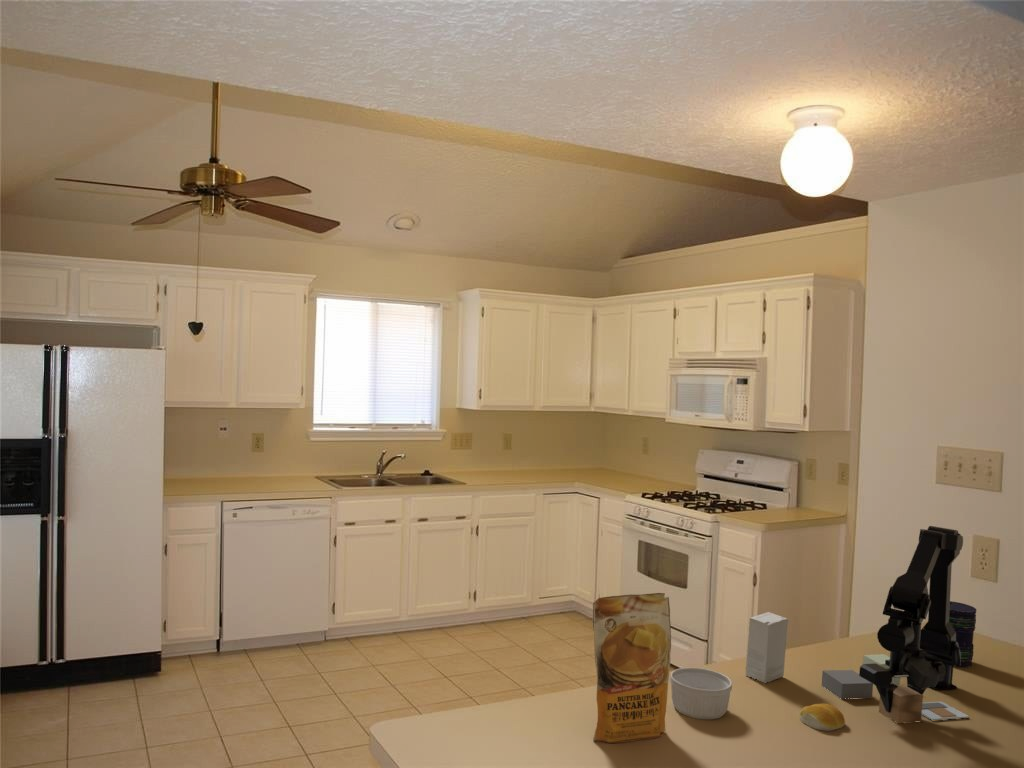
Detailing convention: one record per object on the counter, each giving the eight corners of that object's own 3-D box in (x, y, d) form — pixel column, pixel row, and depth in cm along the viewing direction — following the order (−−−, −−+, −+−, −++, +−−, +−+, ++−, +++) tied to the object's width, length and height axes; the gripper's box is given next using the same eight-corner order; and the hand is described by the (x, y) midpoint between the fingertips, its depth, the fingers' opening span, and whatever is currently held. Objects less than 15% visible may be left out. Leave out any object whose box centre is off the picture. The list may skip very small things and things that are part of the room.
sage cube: (882, 677, 206) (883, 654, 206) (899, 687, 200) (901, 663, 200) (861, 679, 204) (863, 655, 204) (878, 688, 199) (880, 664, 199)
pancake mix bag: (577, 731, 165) (586, 593, 164) (659, 722, 172) (668, 589, 171) (592, 747, 159) (601, 603, 158) (677, 736, 166) (686, 599, 165)
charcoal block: (851, 686, 200) (852, 669, 200) (871, 700, 192) (873, 683, 192) (821, 686, 198) (822, 670, 198) (840, 700, 190) (842, 683, 190)
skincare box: (763, 669, 207) (767, 611, 206) (785, 677, 202) (789, 617, 201) (743, 676, 201) (748, 616, 201) (765, 684, 197) (769, 623, 196)
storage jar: (980, 669, 217) (984, 613, 216) (942, 666, 217) (947, 610, 216) (960, 655, 227) (964, 601, 226) (924, 653, 227) (928, 599, 226)
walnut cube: (901, 710, 186) (903, 684, 186) (920, 722, 180) (923, 695, 180) (878, 712, 184) (880, 685, 184) (898, 723, 179) (900, 696, 179)
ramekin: (656, 707, 180) (658, 676, 179) (688, 692, 189) (690, 662, 189) (710, 728, 171) (713, 695, 170) (741, 711, 180) (743, 680, 180)
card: (941, 703, 192) (941, 700, 192) (968, 718, 184) (969, 715, 184) (905, 705, 189) (905, 702, 189) (932, 721, 181) (932, 718, 181)
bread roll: (851, 727, 176) (852, 708, 176) (824, 735, 171) (826, 716, 171) (818, 711, 183) (819, 694, 183) (792, 719, 178) (793, 701, 178)
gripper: (896, 656, 172) (890, 730, 172) (968, 653, 177) (963, 724, 177) (860, 638, 182) (854, 707, 183) (929, 635, 187) (924, 703, 188)
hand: (900, 711), depth 182 cm, fingers closed on walnut cube, 6 cm apart
